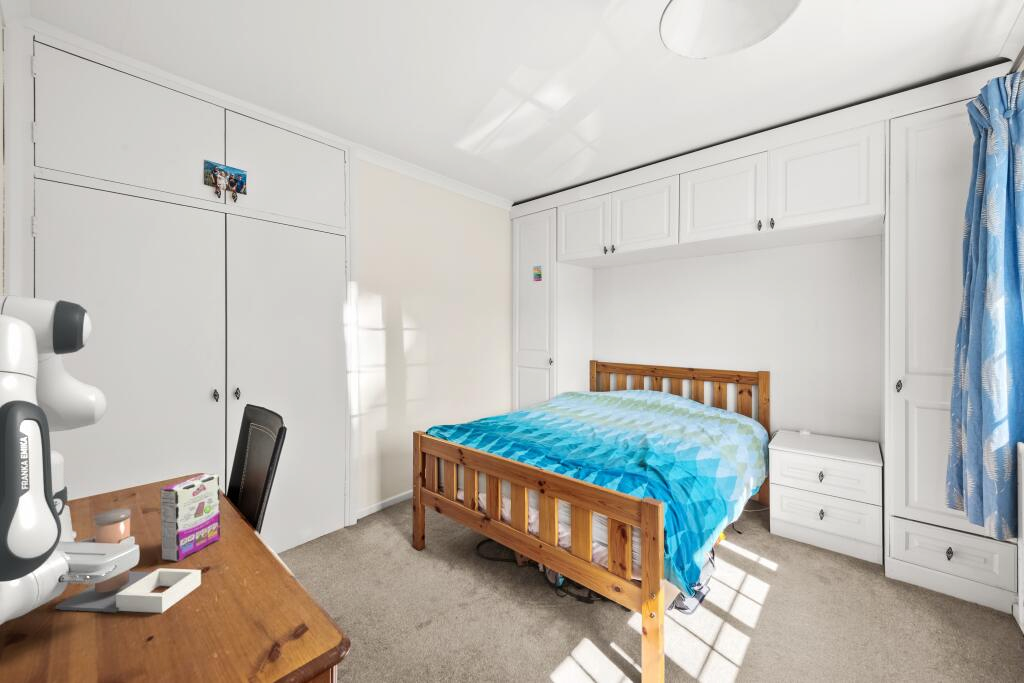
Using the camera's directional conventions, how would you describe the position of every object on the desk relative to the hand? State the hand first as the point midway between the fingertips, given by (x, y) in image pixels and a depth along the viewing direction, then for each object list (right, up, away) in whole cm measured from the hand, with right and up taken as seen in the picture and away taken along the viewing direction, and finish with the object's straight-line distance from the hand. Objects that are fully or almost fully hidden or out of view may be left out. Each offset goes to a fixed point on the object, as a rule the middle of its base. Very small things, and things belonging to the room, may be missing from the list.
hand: (116, 539), depth 84 cm
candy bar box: (+2, -11, +17) cm, 20 cm away
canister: (0, -9, -1) cm, 9 cm away
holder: (+10, -11, -1) cm, 15 cm away
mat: (0, -11, 0) cm, 11 cm away
